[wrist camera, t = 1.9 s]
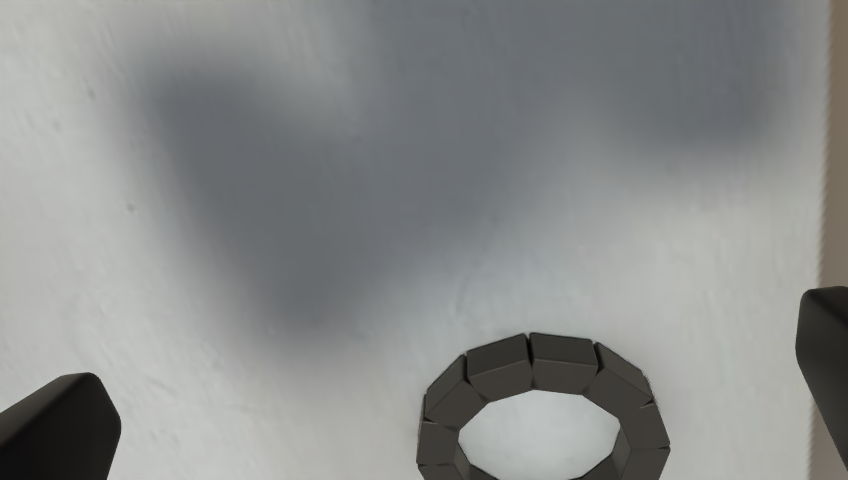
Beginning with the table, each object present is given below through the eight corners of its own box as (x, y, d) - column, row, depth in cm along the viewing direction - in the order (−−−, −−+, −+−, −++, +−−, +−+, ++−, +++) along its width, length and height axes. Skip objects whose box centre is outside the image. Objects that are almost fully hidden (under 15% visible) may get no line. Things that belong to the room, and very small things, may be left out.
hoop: (688, 351, 23) (700, 377, 22) (623, 520, 27) (630, 550, 26) (433, 321, 23) (432, 345, 22) (409, 495, 27) (407, 524, 26)
